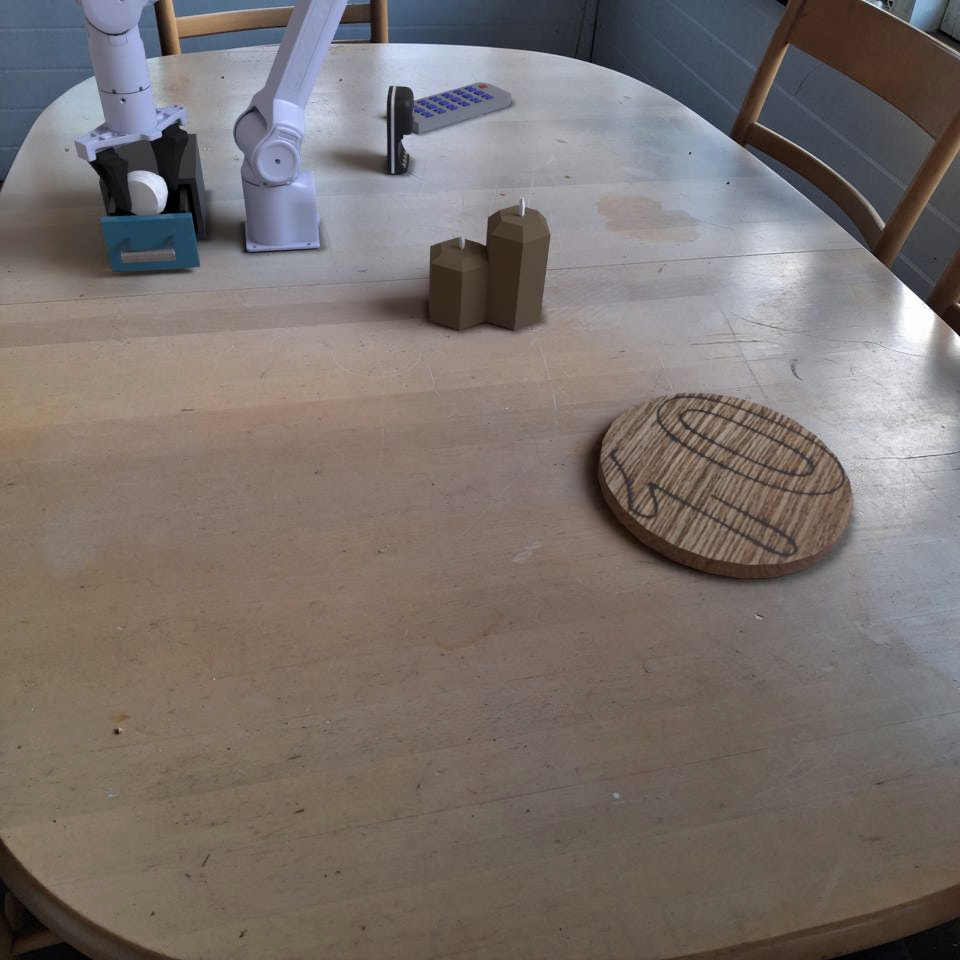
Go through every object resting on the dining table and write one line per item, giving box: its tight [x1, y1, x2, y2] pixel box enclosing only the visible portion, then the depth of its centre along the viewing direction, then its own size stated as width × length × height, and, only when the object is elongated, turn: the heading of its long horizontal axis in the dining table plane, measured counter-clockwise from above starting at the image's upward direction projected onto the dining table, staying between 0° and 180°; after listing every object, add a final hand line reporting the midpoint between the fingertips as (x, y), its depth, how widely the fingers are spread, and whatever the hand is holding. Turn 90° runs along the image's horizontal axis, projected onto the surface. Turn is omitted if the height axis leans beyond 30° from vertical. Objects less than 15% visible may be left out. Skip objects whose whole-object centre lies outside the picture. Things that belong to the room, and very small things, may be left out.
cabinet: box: [98, 133, 207, 241], centre depth 121 cm, size 14×12×9 cm
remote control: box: [412, 81, 512, 135], centre depth 156 cm, size 8×23×2 cm, turn 133°
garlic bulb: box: [128, 171, 168, 215], centre depth 110 cm, size 6×6×5 cm
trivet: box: [597, 392, 855, 580], centre depth 91 cm, size 25×25×2 cm
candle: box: [428, 197, 552, 331], centre depth 107 cm, size 14×14×15 cm
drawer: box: [99, 184, 201, 273], centre depth 113 cm, size 17×10×7 cm, turn 12°
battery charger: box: [386, 84, 415, 175], centre depth 136 cm, size 7×4×11 cm, turn 0°
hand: (147, 198), depth 111 cm, fingers closed on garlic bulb, 6 cm apart
